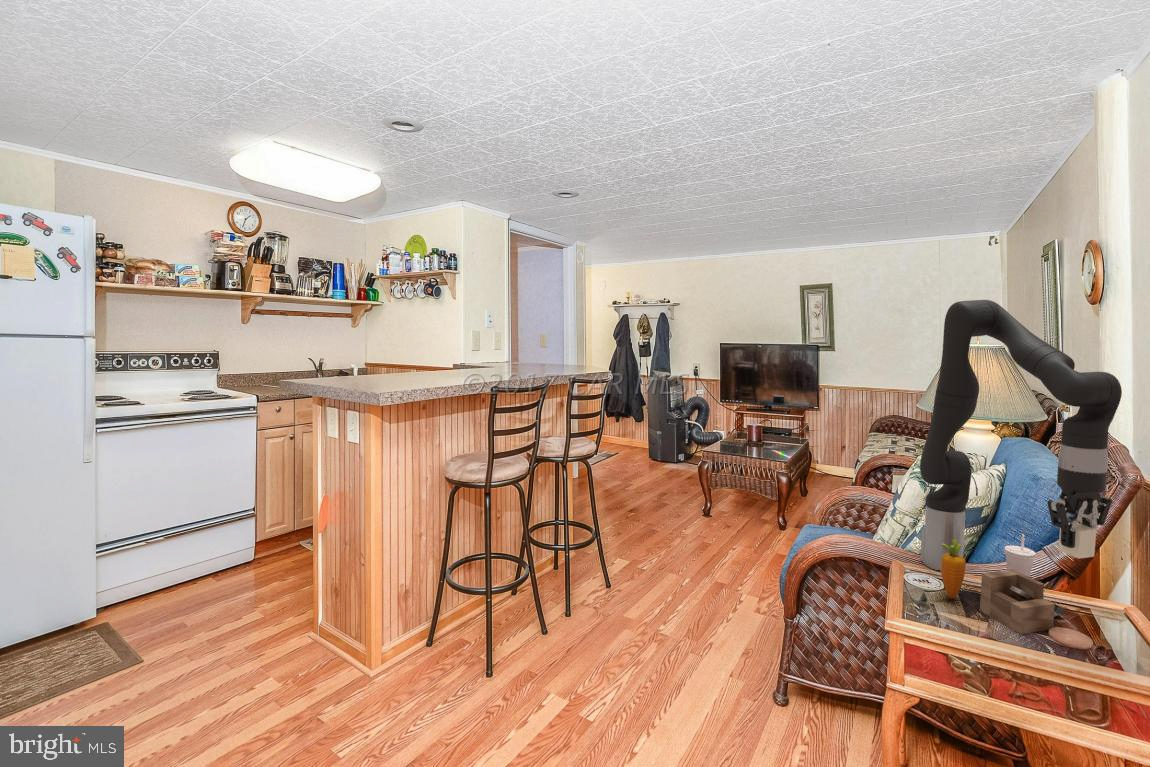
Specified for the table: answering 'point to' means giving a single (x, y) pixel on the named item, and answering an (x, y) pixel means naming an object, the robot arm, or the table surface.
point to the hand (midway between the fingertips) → (1076, 545)
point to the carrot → (952, 569)
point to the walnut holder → (1016, 601)
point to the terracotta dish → (1070, 638)
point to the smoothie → (1019, 558)
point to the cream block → (1081, 542)
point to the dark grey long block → (1056, 608)
